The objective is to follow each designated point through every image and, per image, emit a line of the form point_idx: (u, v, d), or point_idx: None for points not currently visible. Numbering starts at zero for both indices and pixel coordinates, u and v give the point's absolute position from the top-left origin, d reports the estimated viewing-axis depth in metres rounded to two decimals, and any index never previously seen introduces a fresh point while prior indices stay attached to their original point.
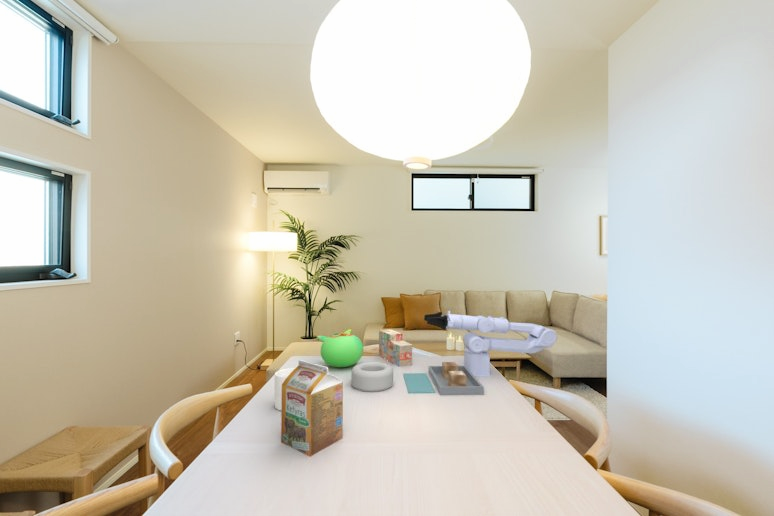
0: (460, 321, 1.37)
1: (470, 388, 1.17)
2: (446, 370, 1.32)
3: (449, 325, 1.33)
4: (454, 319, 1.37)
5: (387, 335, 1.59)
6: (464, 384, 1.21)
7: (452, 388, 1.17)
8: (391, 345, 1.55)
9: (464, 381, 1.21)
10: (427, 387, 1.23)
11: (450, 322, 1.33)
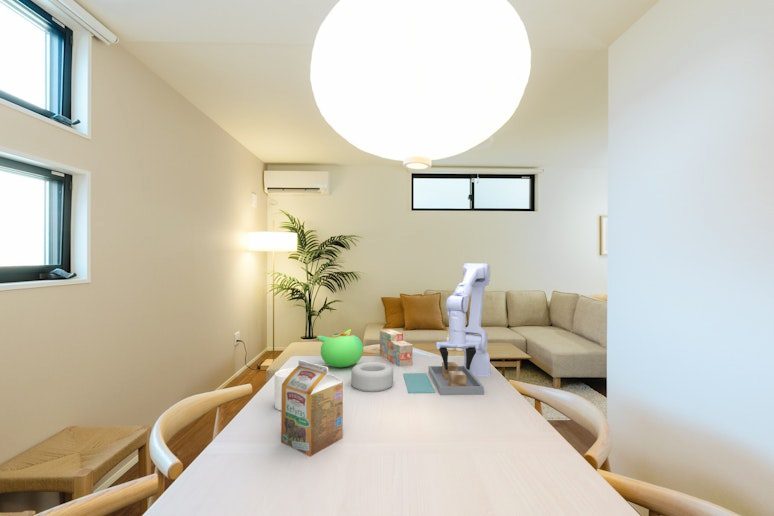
0: (465, 331, 1.23)
1: (470, 388, 1.17)
2: (446, 370, 1.32)
3: None
4: (465, 338, 1.23)
5: (388, 335, 1.59)
6: (464, 384, 1.21)
7: (452, 388, 1.17)
8: (391, 345, 1.55)
9: (464, 381, 1.21)
10: (427, 387, 1.23)
11: (478, 346, 1.24)
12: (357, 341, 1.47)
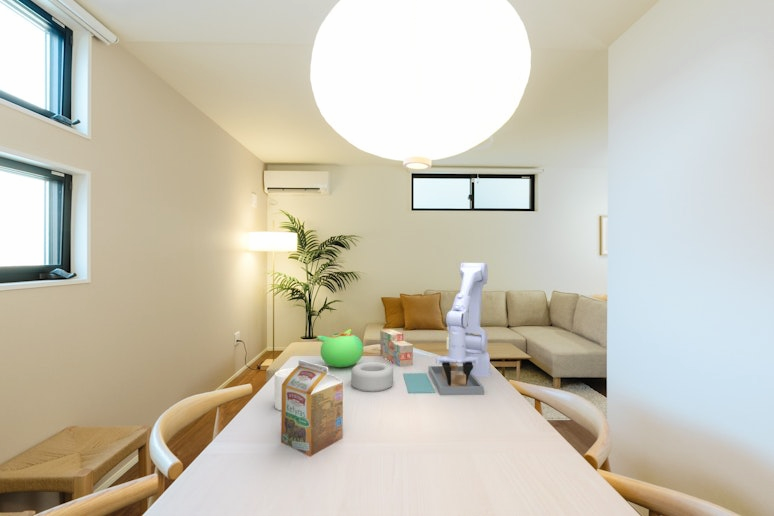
0: (465, 346, 1.23)
1: (470, 388, 1.17)
2: None
3: None
4: (465, 354, 1.23)
5: (388, 335, 1.59)
6: (464, 384, 1.21)
7: (452, 388, 1.17)
8: (392, 345, 1.55)
9: (464, 381, 1.21)
10: (427, 387, 1.23)
11: (478, 361, 1.24)
12: (357, 341, 1.47)
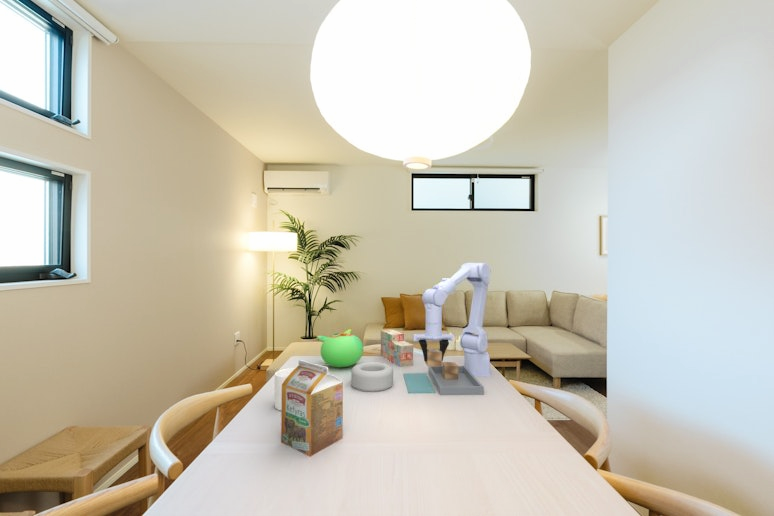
0: (441, 324, 1.26)
1: (470, 388, 1.17)
2: (446, 370, 1.32)
3: None
4: (441, 331, 1.25)
5: (388, 335, 1.58)
6: (440, 361, 1.24)
7: (452, 388, 1.17)
8: (392, 345, 1.55)
9: (440, 358, 1.24)
10: (427, 387, 1.23)
11: (453, 338, 1.26)
12: (357, 341, 1.47)
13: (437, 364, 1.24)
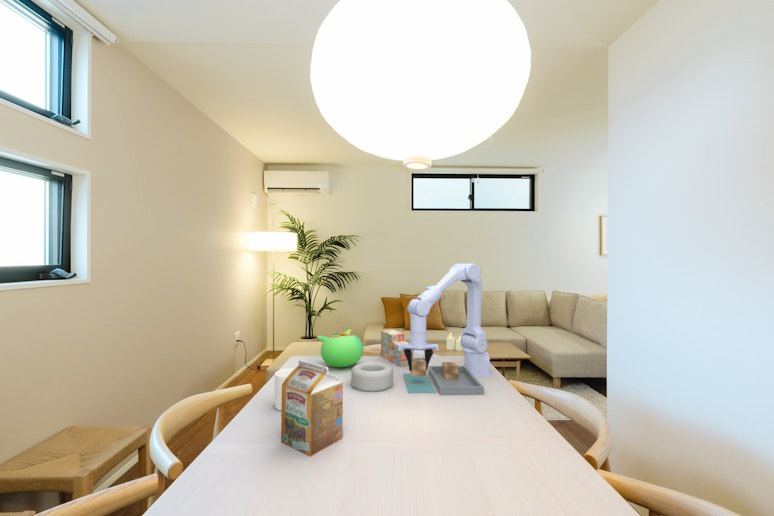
0: None
1: (470, 388, 1.17)
2: (446, 370, 1.32)
3: None
4: (425, 341, 1.27)
5: (389, 335, 1.58)
6: (424, 370, 1.26)
7: (452, 388, 1.17)
8: (392, 345, 1.55)
9: (424, 367, 1.26)
10: (427, 387, 1.23)
11: None
12: (357, 341, 1.47)
13: (421, 373, 1.26)
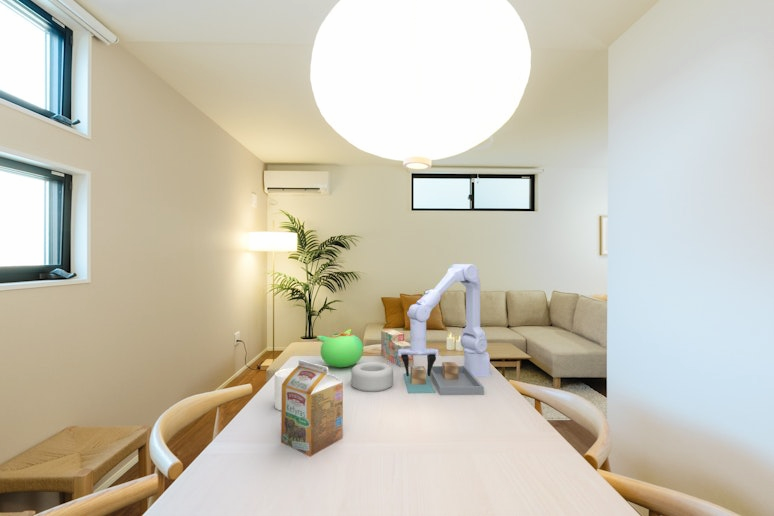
0: None
1: (470, 388, 1.17)
2: (446, 370, 1.32)
3: None
4: (425, 346, 1.27)
5: (389, 335, 1.58)
6: (424, 379, 1.26)
7: (452, 388, 1.17)
8: (393, 345, 1.54)
9: (424, 376, 1.26)
10: (427, 387, 1.23)
11: None
12: (357, 341, 1.47)
13: (421, 382, 1.26)
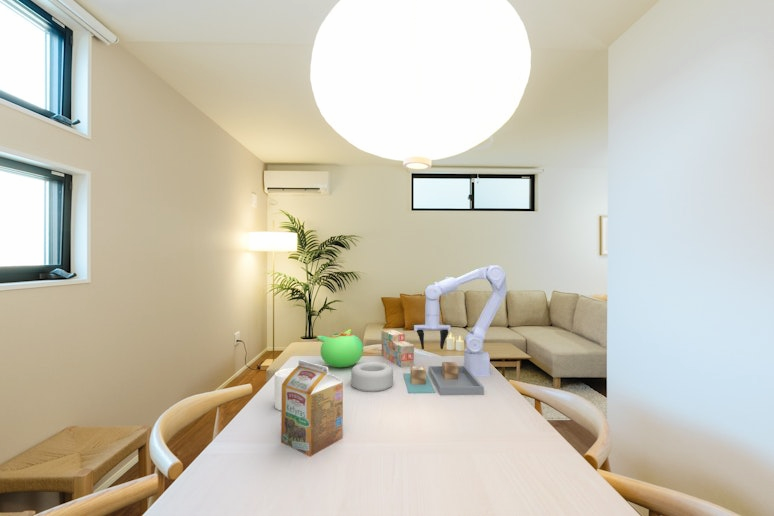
0: None
1: (470, 388, 1.17)
2: (446, 370, 1.32)
3: None
4: None
5: (389, 335, 1.58)
6: (424, 379, 1.26)
7: (452, 388, 1.17)
8: (393, 346, 1.54)
9: (424, 376, 1.26)
10: (427, 387, 1.23)
11: None
12: (357, 341, 1.47)
13: (421, 382, 1.26)
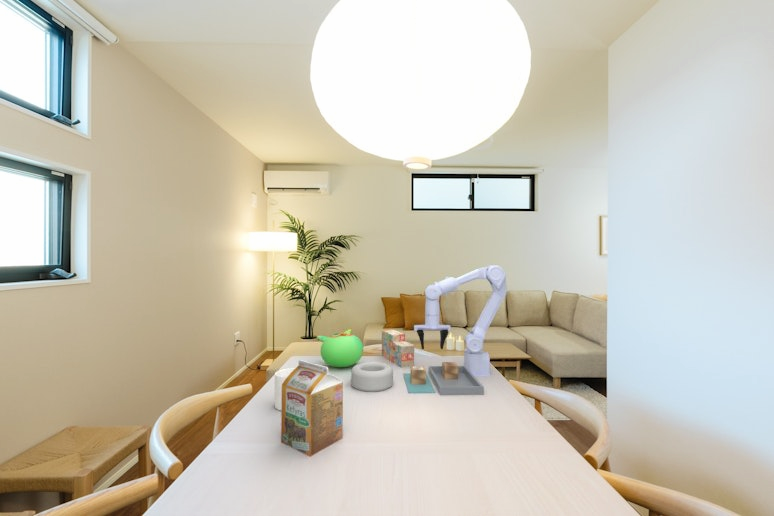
0: None
1: (470, 388, 1.17)
2: (446, 370, 1.32)
3: None
4: None
5: (389, 336, 1.58)
6: (424, 379, 1.26)
7: (452, 388, 1.17)
8: (393, 346, 1.54)
9: (424, 376, 1.26)
10: (427, 387, 1.23)
11: None
12: (357, 341, 1.47)
13: (421, 382, 1.26)
